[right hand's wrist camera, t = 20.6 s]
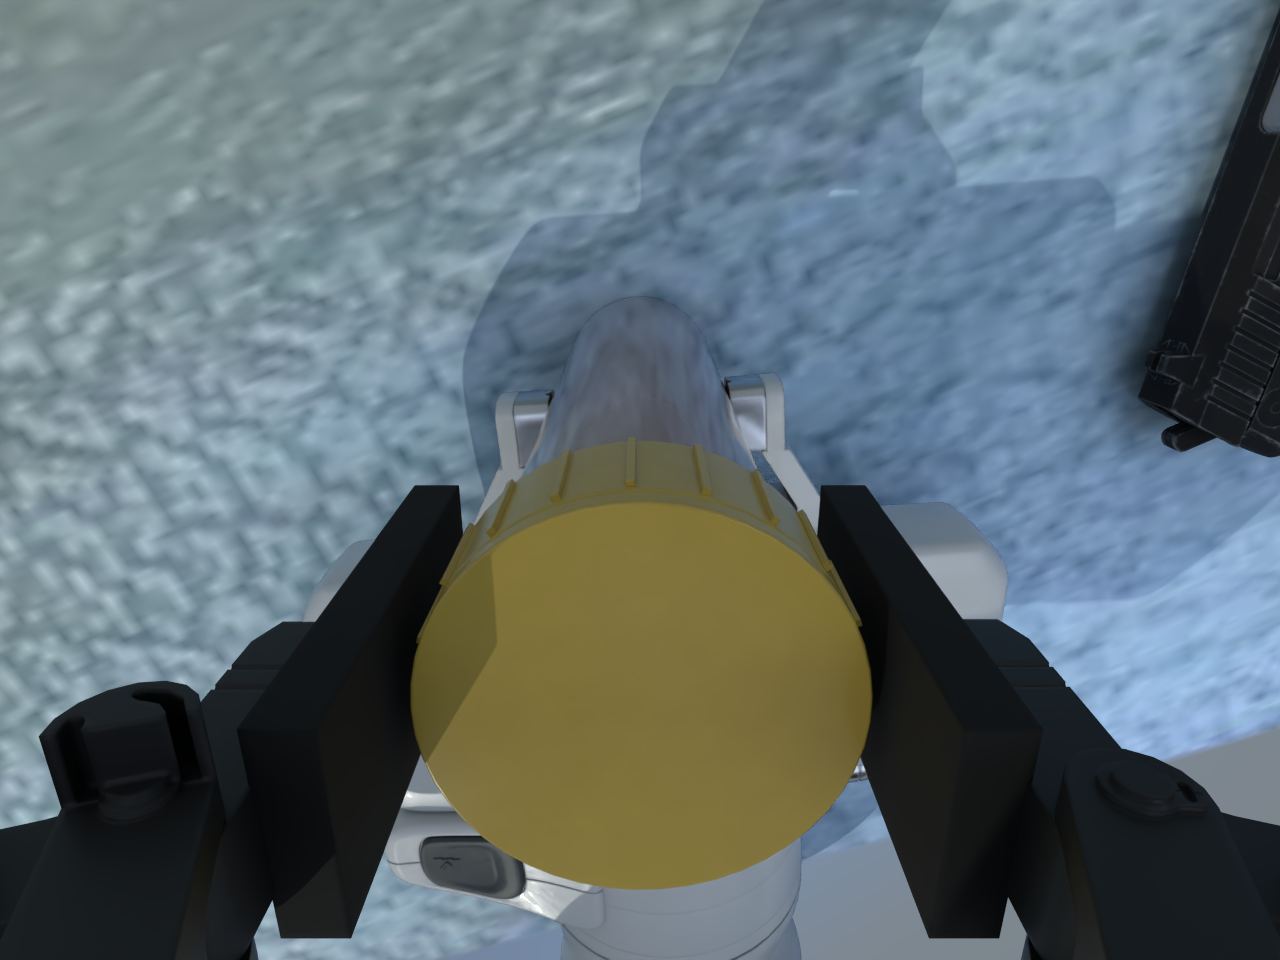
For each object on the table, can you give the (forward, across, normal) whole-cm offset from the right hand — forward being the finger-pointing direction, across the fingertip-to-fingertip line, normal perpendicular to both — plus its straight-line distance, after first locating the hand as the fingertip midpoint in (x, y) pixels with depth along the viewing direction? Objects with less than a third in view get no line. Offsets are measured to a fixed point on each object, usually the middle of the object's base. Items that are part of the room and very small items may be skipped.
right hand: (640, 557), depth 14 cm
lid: (-4, 0, 0) cm, 4 cm away
